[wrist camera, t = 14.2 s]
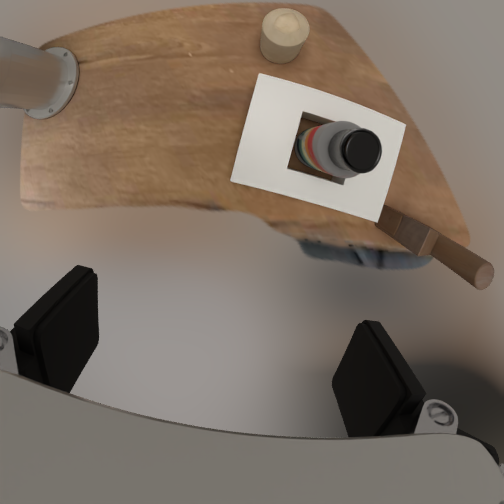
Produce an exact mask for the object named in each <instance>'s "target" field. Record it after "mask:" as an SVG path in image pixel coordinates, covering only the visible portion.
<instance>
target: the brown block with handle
mask: <svg viewBox="0 0 504 504" xmlns="http://www.w3.org/2000/svg"><path fill="white" fill-rule="evenodd" d="M375 225H376V226H377V227H378V228H379V229H381V230H382V231H384V232H385V233H387V234H388V235H389V236H391V237H392V238H394V239H395V240H396V241H398V242H399V243H401V244H402V245H403V246H405V247H406V248H408V249H409V250H410V251H412V252H413V253H414V254H416V255H417V256H423V255H432V256H433V257H434V258H436V259H437V260H439V261H440V262H441V263H443V264H444V265H446V266H447V267H448V268H450V269H451V270H453V271H454V272H455V273H456V274H458V275H459V276H461V277H462V278H463V279H465V280H466V281H467V282H469V283H470V284H471V285H473V286H474V287H475V288H477V289H479V290H483V289H485V288H487V287H488V286H489V285H490V283H491V282H492V279H493V277H494V268H493V266H492V264H491V263H489V262H488V261H486V260H484V259H483V258H481V257H480V256H478V255H476V254H475V253H473V252H471V251H470V250H468V249H466V248H465V247H463V246H461V245H459V244H458V243H456V242H454V241H452V240H451V239H449V238H447V237H445V236H444V235H442V234H441V233H439V232H437V231H436V230H434V229H432V228H430V227H428V226H426V225H424V224H422V223H420V222H418V221H416V220H415V219H413V218H411V217H409V216H407V215H405V214H402V213H400V212H398V211H396V210H394V209H392V208H390V207H388V206H386V205H383V208H382V211H381V214H380V217H379V220H378V223H377V222H376V223H375Z"/></svg>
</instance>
